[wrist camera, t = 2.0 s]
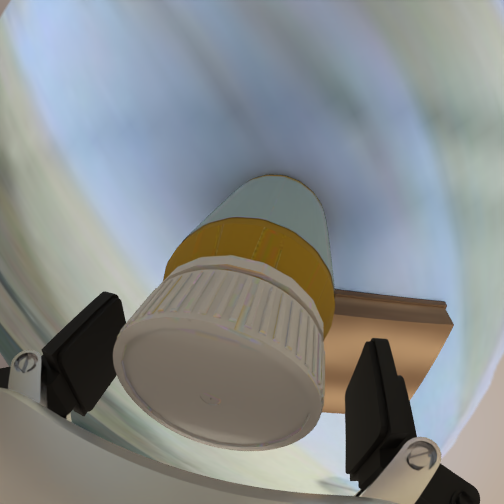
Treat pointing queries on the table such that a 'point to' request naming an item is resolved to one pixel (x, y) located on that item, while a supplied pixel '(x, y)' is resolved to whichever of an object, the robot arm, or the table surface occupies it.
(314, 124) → the table surface
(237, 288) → the bottle
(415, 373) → the plinth
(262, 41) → the table surface
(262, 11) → the table surface
